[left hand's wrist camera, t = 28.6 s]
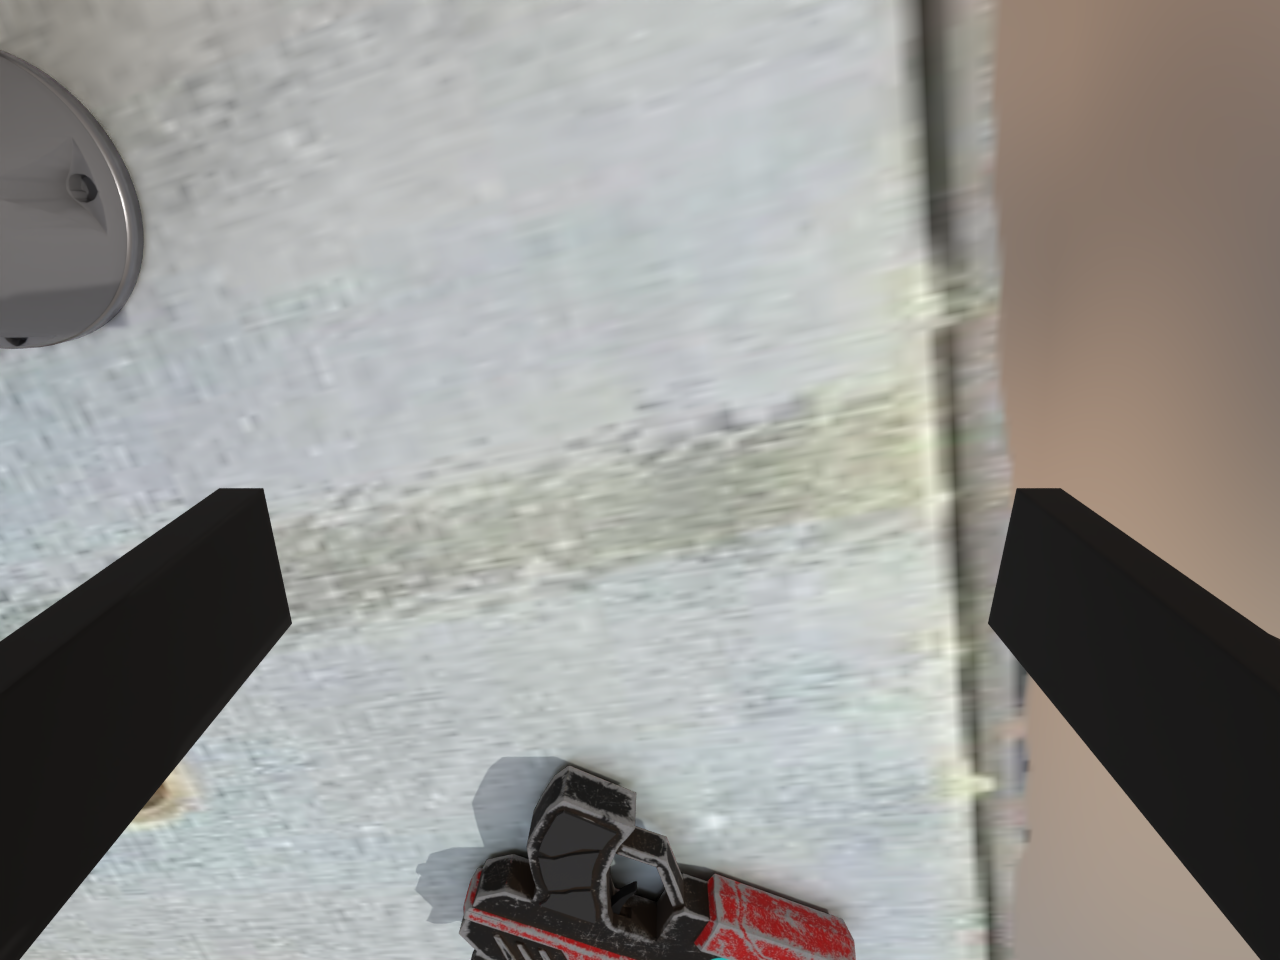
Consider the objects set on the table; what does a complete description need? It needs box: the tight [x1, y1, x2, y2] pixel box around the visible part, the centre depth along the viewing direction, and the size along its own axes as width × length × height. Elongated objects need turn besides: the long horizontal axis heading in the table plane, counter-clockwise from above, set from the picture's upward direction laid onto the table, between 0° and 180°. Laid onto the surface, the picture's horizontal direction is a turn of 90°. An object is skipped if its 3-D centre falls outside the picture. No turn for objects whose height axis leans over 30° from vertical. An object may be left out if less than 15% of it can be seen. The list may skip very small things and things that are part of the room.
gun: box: [459, 766, 856, 960], centre depth 56 cm, size 4×31×19 cm
